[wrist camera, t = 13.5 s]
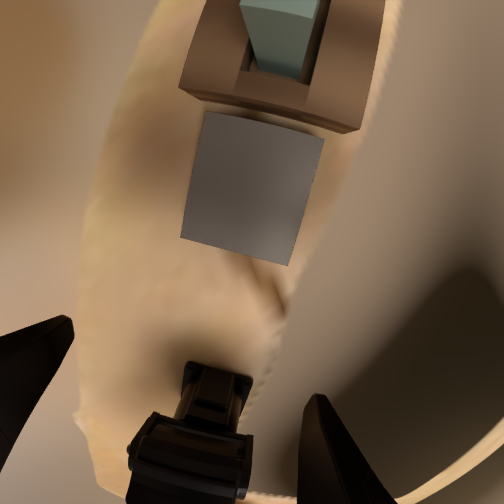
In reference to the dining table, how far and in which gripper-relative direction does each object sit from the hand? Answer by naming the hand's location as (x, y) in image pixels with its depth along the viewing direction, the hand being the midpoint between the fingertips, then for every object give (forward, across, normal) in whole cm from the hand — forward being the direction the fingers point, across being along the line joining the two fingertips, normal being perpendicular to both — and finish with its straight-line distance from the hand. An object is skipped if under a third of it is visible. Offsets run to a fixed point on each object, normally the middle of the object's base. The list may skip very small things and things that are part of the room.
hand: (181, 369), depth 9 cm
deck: (+13, 0, -4) cm, 14 cm away
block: (+12, 0, -15) cm, 19 cm away
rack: (+14, 0, -14) cm, 20 cm away
